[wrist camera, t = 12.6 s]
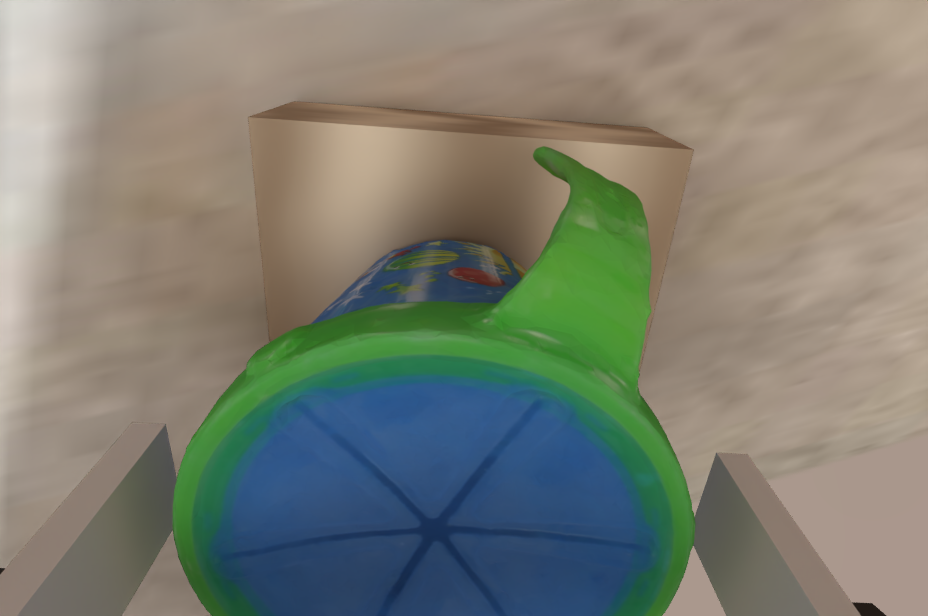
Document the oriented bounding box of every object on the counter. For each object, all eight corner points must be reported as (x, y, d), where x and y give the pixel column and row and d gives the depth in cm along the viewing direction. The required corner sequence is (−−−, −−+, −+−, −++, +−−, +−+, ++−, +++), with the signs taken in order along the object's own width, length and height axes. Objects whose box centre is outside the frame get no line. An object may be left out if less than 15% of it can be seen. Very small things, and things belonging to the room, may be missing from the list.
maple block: (311, 397, 28) (281, 466, 23) (293, 101, 22) (248, 117, 17) (588, 414, 28) (611, 485, 24) (647, 127, 22) (693, 149, 17)
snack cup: (445, 44, 16) (415, 49, 7) (705, 238, 19) (934, 428, 10) (229, 406, 22) (56, 669, 13) (451, 516, 24) (440, 803, 15)
